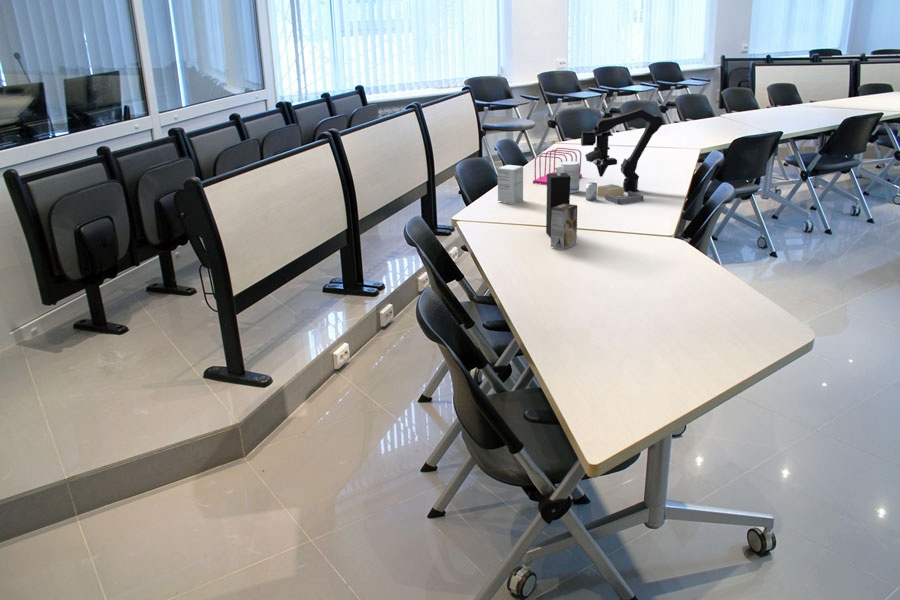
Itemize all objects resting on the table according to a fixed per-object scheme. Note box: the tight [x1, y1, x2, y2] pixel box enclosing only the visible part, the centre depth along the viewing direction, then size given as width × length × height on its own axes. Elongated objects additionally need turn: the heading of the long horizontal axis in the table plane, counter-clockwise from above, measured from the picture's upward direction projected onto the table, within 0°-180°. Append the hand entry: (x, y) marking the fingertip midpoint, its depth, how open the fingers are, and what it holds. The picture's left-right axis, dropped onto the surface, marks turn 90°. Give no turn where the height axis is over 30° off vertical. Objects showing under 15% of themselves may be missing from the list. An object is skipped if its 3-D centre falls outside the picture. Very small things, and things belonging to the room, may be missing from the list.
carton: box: [597, 183, 625, 198], centre depth 357 cm, size 9×9×5 cm
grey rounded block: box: [585, 181, 598, 202], centre depth 349 cm, size 5×5×8 cm
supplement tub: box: [560, 160, 581, 194], centre depth 365 cm, size 10×10×15 cm
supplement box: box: [497, 164, 524, 205], centre depth 350 cm, size 10×9×17 cm
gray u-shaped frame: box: [604, 191, 644, 205], centre depth 347 cm, size 14×11×2 cm
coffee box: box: [550, 203, 578, 251], centre depth 280 cm, size 9×6×16 cm
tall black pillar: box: [545, 166, 571, 238], centre depth 293 cm, size 8×8×28 cm
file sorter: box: [532, 147, 583, 185], centre depth 390 cm, size 17×25×16 cm
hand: (601, 176), depth 362 cm, fingers closed
